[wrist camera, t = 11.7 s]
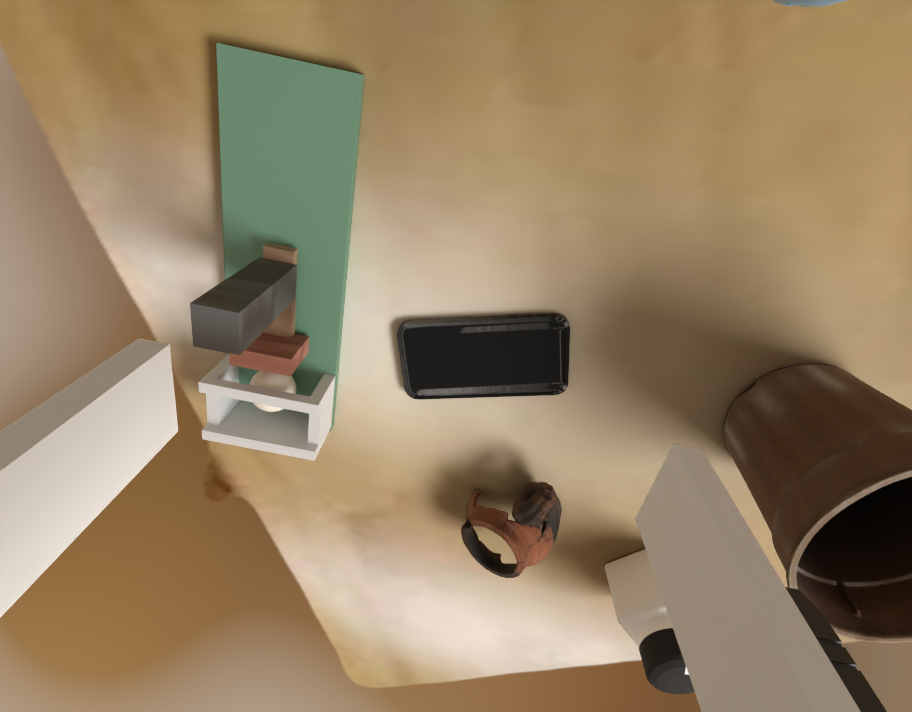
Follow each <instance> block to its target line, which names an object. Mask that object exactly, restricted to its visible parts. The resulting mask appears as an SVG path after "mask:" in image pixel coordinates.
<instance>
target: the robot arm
mask: <svg viewBox="0 0 912 712" xmlns="http://www.w3.org/2000/svg"><path fill="white" fill-rule="evenodd" d="M773 1H774V2H776V3H779V4H782V5H786V6H796V5H798V6H803V7H809V6H812V7H822V6H828V5H832V4H836V3H840V2H843V1H847V0H773ZM177 425H178V424H177V415H176V404H175V395H174V384H173V374H172V364H171V354H170V344H166V343H161V342H156V341H151V340H146V339H141V338H139V339H137V340H136V341H134V342H133V343H131V344H130V345H128V346H127V347H125V348H124V349H122V350H121V351H119V352H118V353H116V354H115V355H113V356H112V357H111V358H109V359H107V360H106V361H104V362H103V363H101V364H100V365H98V366H97V367H95V368H94V369H92V370H91V371H89V372H88V373H86V374H85V375H83V376H82V377H80V378H79V379H77V380H76V381H74V382H73V383H71V384H70V385H68V386H67V387H65V388H64V389H62V390H61V391H60V392H58V393H57V394H55V395H53V396H52V397H50V398H49V399H47V400H46V401H44V402H43V403H42V404H40V405H38V406H37V407H36V408H34V409H32V410H31V411H29V412H28V413H26V414H25V415H23V416H22V417H21V418H19V419H18V420H16V421H14V422H13V423H11V424H10V425H8V426H7V427H6V428H4V429H2V430H1V431H0V617H1V616H2V615H3V614H4V613H5V612H6V611H7V610H8V609H9V608H10V607H11V606H12V605H13V604H14V603H15V601H16V600H17V599H18V598H19V597H20V596H21V595H22V594H23V593H24V592H25V591H26V590H27V589H28V588H29V587H30V586H31V585H32V584H33V583H34V582H35V580H37V578H38V577H39V576H40V575H41V574H42V573H43V572H44V571H45V570H46V569H47V568H48V567H49V566H50V565H51V564H52V563H53V562H54V561H55V560H56V558H58V556H59V555H60V554H61V553H62V552H63V551H64V550H65V549H66V548H67V547H68V546H69V545H70V544H71V543H72V542H73V541H74V540H75V539H76V538H77V537H78V535H79V534H80V533H81V532H82V531H83V530H84V529H85V528H86V527H87V526H88V525H89V524H90V523H91V522H92V521H93V520H94V519H95V518H96V517H97V515H99V513H100V512H101V511H102V510H103V509H104V508H105V507H106V506H107V505H108V504H109V503H110V502H111V501H112V500H113V499H114V498H115V497H116V496H117V495H118V494H119V493H120V491H121V490H122V489H123V488H124V487H125V486H126V485H127V484H128V483H129V482H130V481H131V480H132V479H133V478H134V477H135V476H136V474H138V473H139V472H140V471H141V469H142V468H143V467H144V466H145V465H146V464H147V463H148V462H149V461H150V460H151V459H152V458H153V457H154V456H155V455H156V454H157V453H158V452H159V451H160V449H162V447H163V446H164V445H165V444H166V443H167V442H168V441H169V440H170V439H171V438H172V437H173V436H174V435H175V434H176V433H177V432H178V426H177ZM635 520H636V523H637V526H638V529H639V531H640V534H641V537H642V540H643V543H644V546H645V549H646V552H647V555H648V558H649V560H650V563H651V566H652V569H653V572H654V575H655V578H656V581H657V584H658V587H659V589H660V592H661V595H662V598H663V601H664V604H665V607H666V610H667V613H668V616H669V618H670V621H671V624H672V627H673V630H674V633H675V636H676V639H677V642H678V644H679V647H680V650H681V653H682V656H683V659H684V662H685V665H686V668H687V671H688V673H689V676H690V679H691V682H692V685H693V688H694V691H695V693H696V697H697V699H698V702H699V705H700V708H701V711H702V712H887V711H886V710H885V708H884V707H883V705H882V704H881V702H880V700H879V699H878V697H877V696H876V694H875V693H874V691H873V690H872V688H871V687H870V685H869V684H868V682H867V680H866V679H865V677H864V676H863V674H862V673H861V671H858V670H857V669H856V664H855V662H854V660H853V659H852V657H851V656H850V654H849V653H848V651H847V650H846V648H844V647H842V646H841V643H842V642H841V640H840V639H839V637H838V636H837V634H836V633H835V631H834V630H833V628H832V627H831V625H830V623H829V622H828V620H827V619H826V617H825V616H824V614H823V613H822V612H821V611H820V610H819V609H818V608H817V607H816V606H815V605H814V604H813V603H812V602H811V601H810V600H809V599H808V598H807V597H806V596H805V595H804V594H803V593H802V592H801V591H800V590H798V589H793V588H788V587H785V586H784V584H783V583H782V581H781V579H780V578H779V576H778V574H777V573H776V571H775V569H774V568H773V566H772V564H771V563H770V561H769V560H768V558H767V556H766V555H765V553H764V551H763V550H762V548H761V546H760V545H759V543H758V541H757V540H756V538H755V536H754V535H753V533H752V531H751V530H750V528H749V527H748V525H747V523H746V522H745V520H744V518H743V517H742V515H741V513H740V512H739V510H738V508H737V507H736V505H735V503H734V502H733V500H732V498H731V497H730V495H729V494H728V492H727V490H726V489H725V487H724V485H723V484H722V482H721V480H720V479H719V477H718V475H717V474H716V472H715V470H714V469H713V467H712V466H711V464H710V462H709V461H708V459H707V457H706V456H705V454H704V452H703V451H702V449H697V448H692V447H687V446H682V445H677V444H673V446H672V448H671V450H670V452H669V453H668V455H667V457H666V459H665V461H664V463H663V465H662V467H661V469H660V471H659V473H658V475H657V477H656V479H655V481H654V483H653V485H652V487H651V489H650V491H649V493H648V495H647V497H646V499H645V501H644V503H643V505H642V507H641V508H640V510H639V512H638V514H637V516H636V518H635Z"/></svg>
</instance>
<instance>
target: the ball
mask: <svg viewBox="0 0 912 712" xmlns="http://www.w3.org/2000/svg"><path fill="white" fill-rule="evenodd" d="M249 385H253V386H258V387H263V388H268V389H273V390H278V391H284V392H289V393H294V394H296V384H295V381H294V379H293V377H292V376H291V377H290V376H285V375H280V374H275V373H270V372H265V371H259V372H257V373H256V374H255V375H254V376H253V378H252V379H251V381H250V384H249ZM253 404H254V405H255V406H257V407H258V408H259V409H261V410H264V411H268V412H276V411H280V410H282V409H283V408H278V407H273V406H268V405H262V404H257V403H253Z"/></svg>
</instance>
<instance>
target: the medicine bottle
mask: <svg viewBox="0 0 912 712" xmlns="http://www.w3.org/2000/svg"><path fill="white" fill-rule="evenodd" d="M605 571H606V575H607V579H608V583H609V587H610V591H611V595H612V599H613V603H614V607H615V612H616V616H617V620H618V622H619V624H620V625H621V626H622V627H623V629H624V630H625V631H626V632H627V633H628V635H629V636H630V637H631V638H632V640H633V641H634V642H635V643H636V644H637V646H638V647H639V651H640V655H641V658H642V662H643V666H644V669H645V673H646V676H647V680H648V681H649V682H650V684H652V685H653V686H654V687H655V688H656V689H658V690H660V691H663V692H666V693H672V694H687V693H691V692H695V691H694V688H693V685H692V682H691V679H690V676H689V673H688V671H687V668H686V665H685V662H684V659H683V656H682V653H681V650H680V647H679V644H678V642H677V639H676V636H675V633H674V630H673V627H672V624H671V621H670V618H669V616H668V613H667V610H666V607H665V604H664V601H663V598H662V595H661V592H660V589H659V587H658V584H657V581H656V578H655V575H654V572H653V569H652V566H651V563H650V560H649V558H648V555H647V552H646V549H644V550H641V551H639V552H636V553H633V554H631V555H628V556H625V557H623V558H620V559H618V560H615V561H612V562H610V563H607V564H605Z"/></svg>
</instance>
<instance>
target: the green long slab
mask: <svg viewBox="0 0 912 712" xmlns="http://www.w3.org/2000/svg"><path fill="white" fill-rule="evenodd" d="M216 49H217V76H218V104H219V132H220V159H221V187H222V214H223V242H224V270H225V280H226V279H227V278H229V277H230V276H232V275H233V274H235V273H236V272H238V271H239V270H241V269H242V268H244V267H245V266H247V265H248V264H250V263H251V262H253V261H254V260H256V259H257V258H259V257H261V258H263V246H264V245H265V244H267V243H273V244H278V245H283V246H288V247H292V248H297V249H298V259H297V285H296V312H295V333H296V334H301V335H306V336H309V352H308V353H307V355H306V356H305V357H304V359H303V360H302V362H301V363H300V364H299V366H298V367H297V368H296V370H295V371H294V372H293V374H292V375H291V376H292V377H293V379H294V381H295V384H296V394H294V393H289V392H284V391H278V390H273V389H268V388H263V387H258V386H253V385H249V384H250V381H251V379H252V378H253V376H254V375H255V374H256V373H257V372H259V371H260V370H254V369H249V368H244V367H239V366H234V365H229V353H228V354H227V355H226V356H225V357H224V358H223V359H222V360H221V361H220V362H219V363H218V364H217V365H216V366H215V367H214V368H213V369H212V370H211V371H209V372H208V373H207V374H206V375H205V376H204V377H203V378H202V379H201V380H200V381H199V382H198V384H199V392H201V393H206V404H207V420H208V424H207V425H206V426H205V427H204V428H203V429H202V438H203V439H204V440H210V441H215V442H220V443H225V444H230V445H236V446H241V447H246V448H251V449H256V450H262V451H267V452H272V453H277V454H282V455H288V456H293V457H298V458H303V459H308V460H315V458H316V456H317V454H318V452H319V450H320V448H321V446H322V444H323V442H324V440H325V438H326V436H327V434H328V432H329V431H331V429H332V427H333V425H334V414H335V403H336V391H337V380H338V369H339V357H340V346H341V335H342V323H343V312H344V301H345V289H346V278H347V267H348V255H349V244H350V233H351V221H352V210H353V199H354V187H355V176H356V165H357V153H358V142H359V131H360V119H361V108H362V97H363V85H364V75H363V74H358V73H353V72H349V71H344V70H340V69H335V68H330V67H326V66H321V65H317V64H312V63H307V62H303V61H298V60H294V59H289V58H284V57H280V56H275V55H271V54H266V53H261V52H257V51H252V50H248V49H243V48H239V47H234V46H229V45H225V44H220V43H216ZM253 403H257V404H262V405H268V406H273V407H278V408H283V409H282V410H280V411H276V412H268V411H264V410H261V409H259V408H258V407H257V406H255V405H254V404H253Z"/></svg>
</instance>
